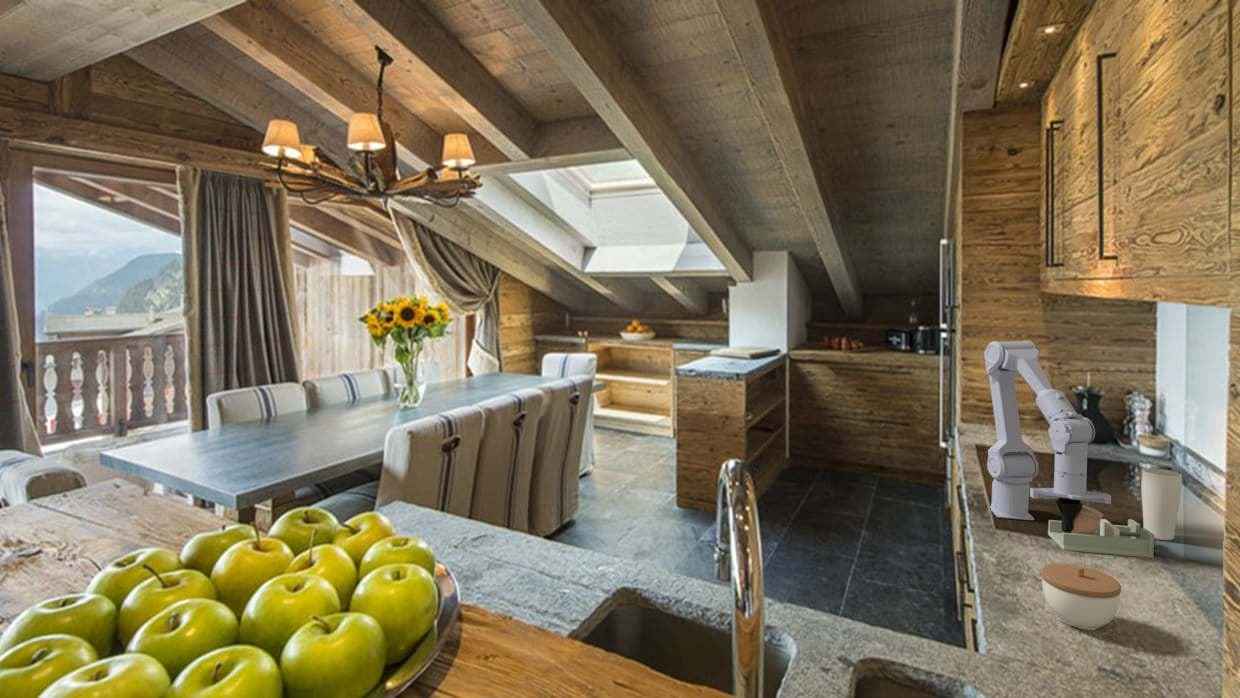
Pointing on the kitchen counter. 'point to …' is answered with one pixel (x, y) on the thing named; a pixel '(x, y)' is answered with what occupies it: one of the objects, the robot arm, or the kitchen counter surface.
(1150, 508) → the drinking glass
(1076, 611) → the lidded jar
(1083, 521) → the jar
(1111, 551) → the pale green shallow tray
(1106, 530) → the pusher
